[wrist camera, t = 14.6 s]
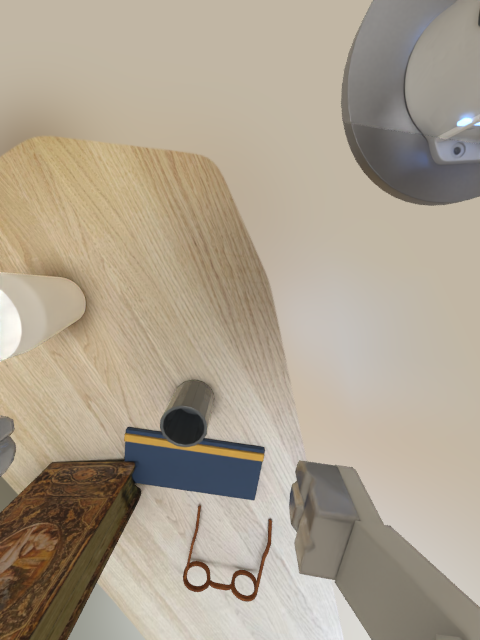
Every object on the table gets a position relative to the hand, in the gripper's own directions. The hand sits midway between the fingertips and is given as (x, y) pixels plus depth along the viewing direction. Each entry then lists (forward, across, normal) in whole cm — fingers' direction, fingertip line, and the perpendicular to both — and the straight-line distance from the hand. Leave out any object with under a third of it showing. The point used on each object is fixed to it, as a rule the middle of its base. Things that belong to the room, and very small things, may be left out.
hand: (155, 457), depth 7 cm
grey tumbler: (+29, +3, +16) cm, 33 cm away
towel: (+29, +2, +28) cm, 40 cm away
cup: (+29, +23, +4) cm, 37 cm away
